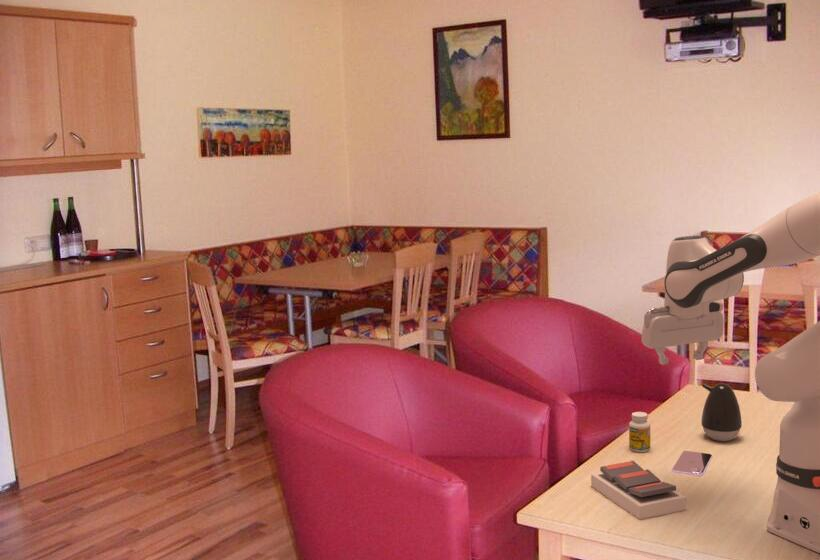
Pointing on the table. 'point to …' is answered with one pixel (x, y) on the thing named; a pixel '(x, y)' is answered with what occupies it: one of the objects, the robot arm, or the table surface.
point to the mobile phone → (692, 463)
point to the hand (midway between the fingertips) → (680, 361)
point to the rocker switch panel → (639, 499)
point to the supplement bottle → (639, 432)
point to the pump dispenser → (721, 413)
